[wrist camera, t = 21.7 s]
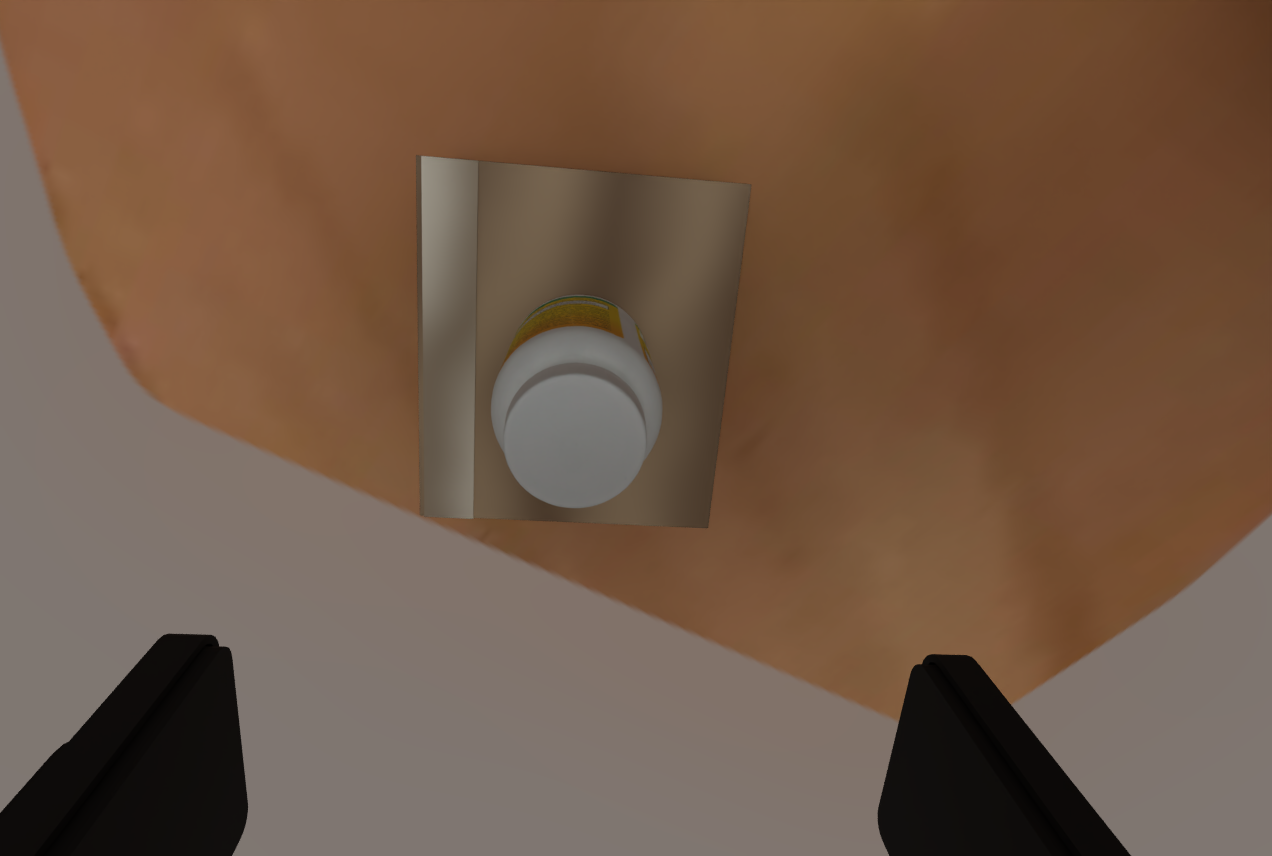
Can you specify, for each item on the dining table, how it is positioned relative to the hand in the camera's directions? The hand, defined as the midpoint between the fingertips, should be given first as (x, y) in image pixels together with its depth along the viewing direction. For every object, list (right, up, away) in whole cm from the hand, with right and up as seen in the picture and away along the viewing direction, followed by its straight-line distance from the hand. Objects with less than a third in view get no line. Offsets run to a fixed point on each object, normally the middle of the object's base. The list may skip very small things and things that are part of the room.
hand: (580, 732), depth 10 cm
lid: (-2, +7, +20) cm, 21 cm away
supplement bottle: (-1, +7, +20) cm, 21 cm away
